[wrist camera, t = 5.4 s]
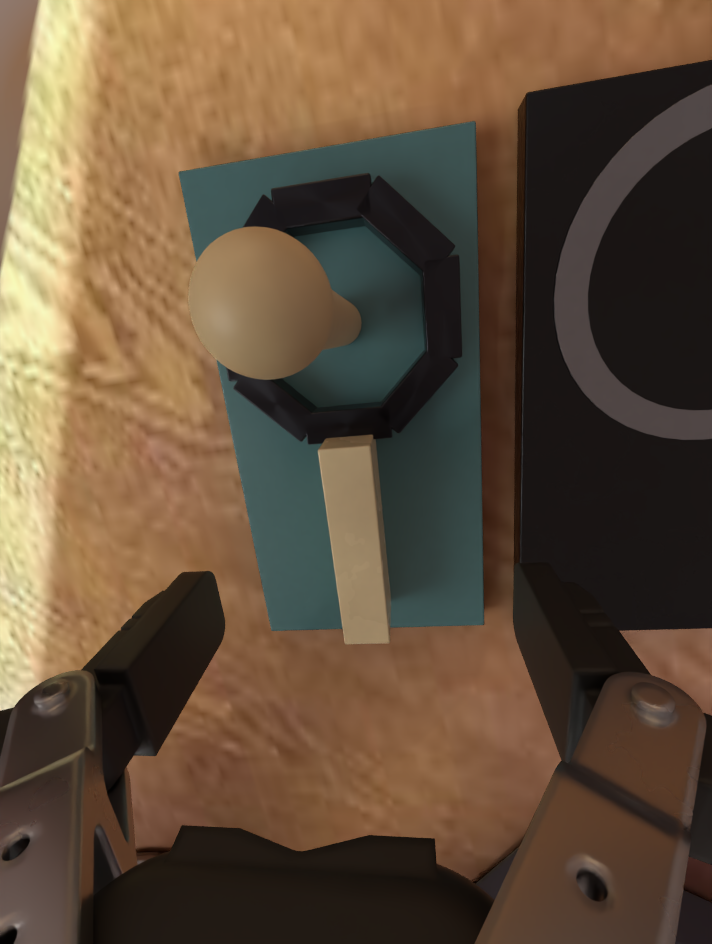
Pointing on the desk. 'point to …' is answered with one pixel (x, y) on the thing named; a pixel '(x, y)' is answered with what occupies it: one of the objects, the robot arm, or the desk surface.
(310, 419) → the hoop
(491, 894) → the calculator
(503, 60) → the desk surface
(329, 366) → the peg stand
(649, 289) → the hob plate
